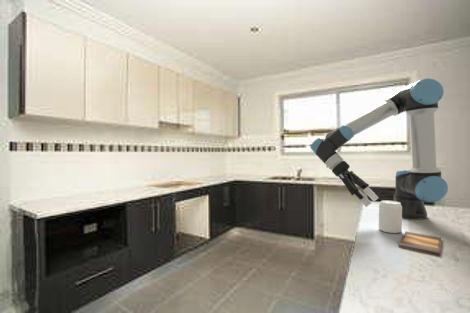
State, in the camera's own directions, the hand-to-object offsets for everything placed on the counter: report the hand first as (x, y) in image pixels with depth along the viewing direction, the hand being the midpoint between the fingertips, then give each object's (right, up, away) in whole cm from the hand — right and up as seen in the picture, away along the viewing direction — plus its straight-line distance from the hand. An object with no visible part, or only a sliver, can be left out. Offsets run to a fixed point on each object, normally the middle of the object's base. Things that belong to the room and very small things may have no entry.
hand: (372, 202), depth 107 cm
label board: (+8, -12, -17) cm, 22 cm away
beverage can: (+5, -12, -3) cm, 13 cm away
